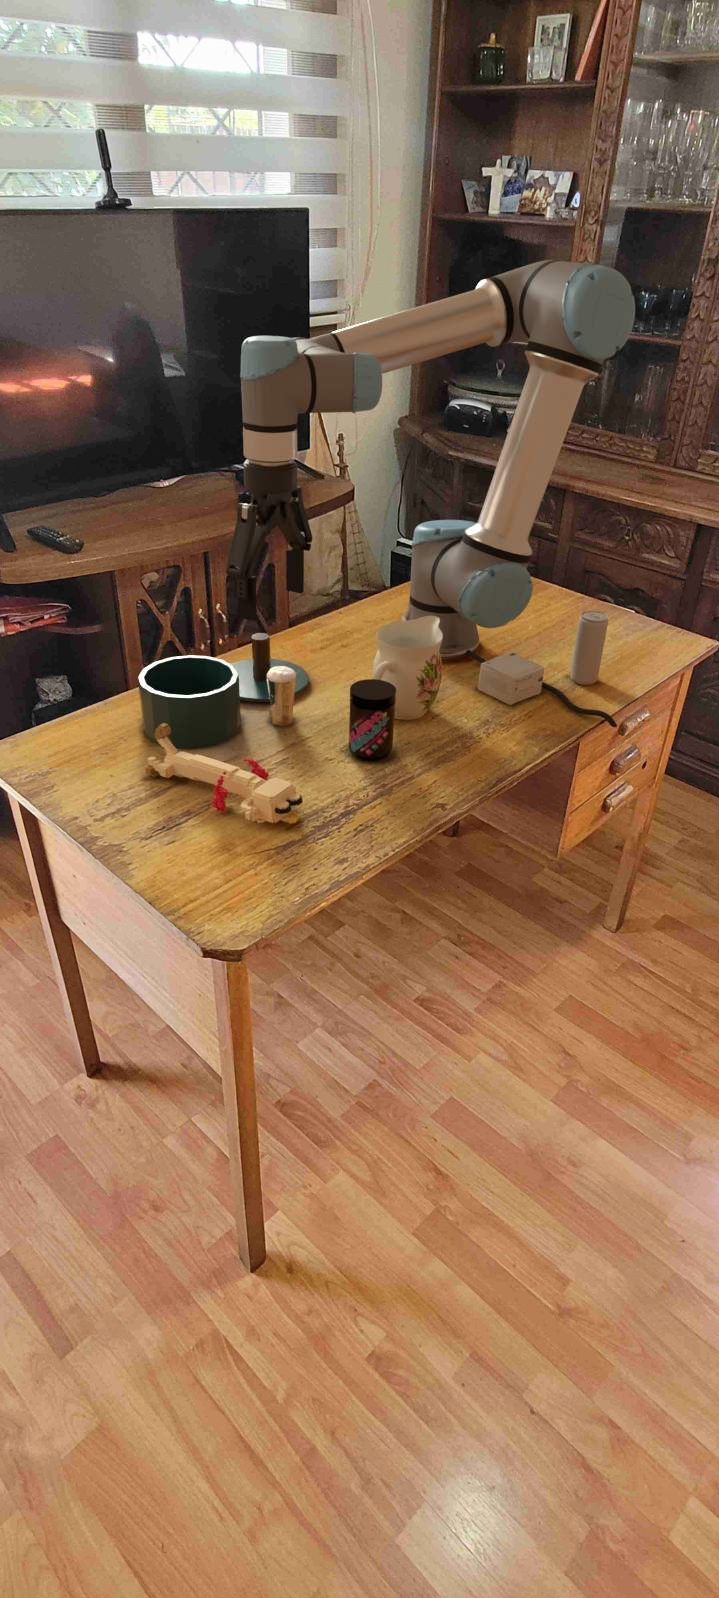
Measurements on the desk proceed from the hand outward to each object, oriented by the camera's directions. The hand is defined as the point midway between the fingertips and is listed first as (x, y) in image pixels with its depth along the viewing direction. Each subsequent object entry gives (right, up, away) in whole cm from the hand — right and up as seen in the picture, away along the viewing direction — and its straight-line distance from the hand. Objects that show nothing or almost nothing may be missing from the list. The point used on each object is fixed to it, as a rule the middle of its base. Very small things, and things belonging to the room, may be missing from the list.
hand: (272, 604), depth 141 cm
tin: (-13, -18, +4) cm, 22 cm away
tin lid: (-3, -10, +16) cm, 19 cm away
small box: (+39, -12, +17) cm, 44 cm away
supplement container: (+15, -23, -2) cm, 27 cm away
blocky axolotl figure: (-5, -30, -13) cm, 33 cm away
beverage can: (+53, -9, +22) cm, 58 cm away
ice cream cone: (+1, -18, +6) cm, 18 cm away
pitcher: (+20, -16, +10) cm, 27 cm away
